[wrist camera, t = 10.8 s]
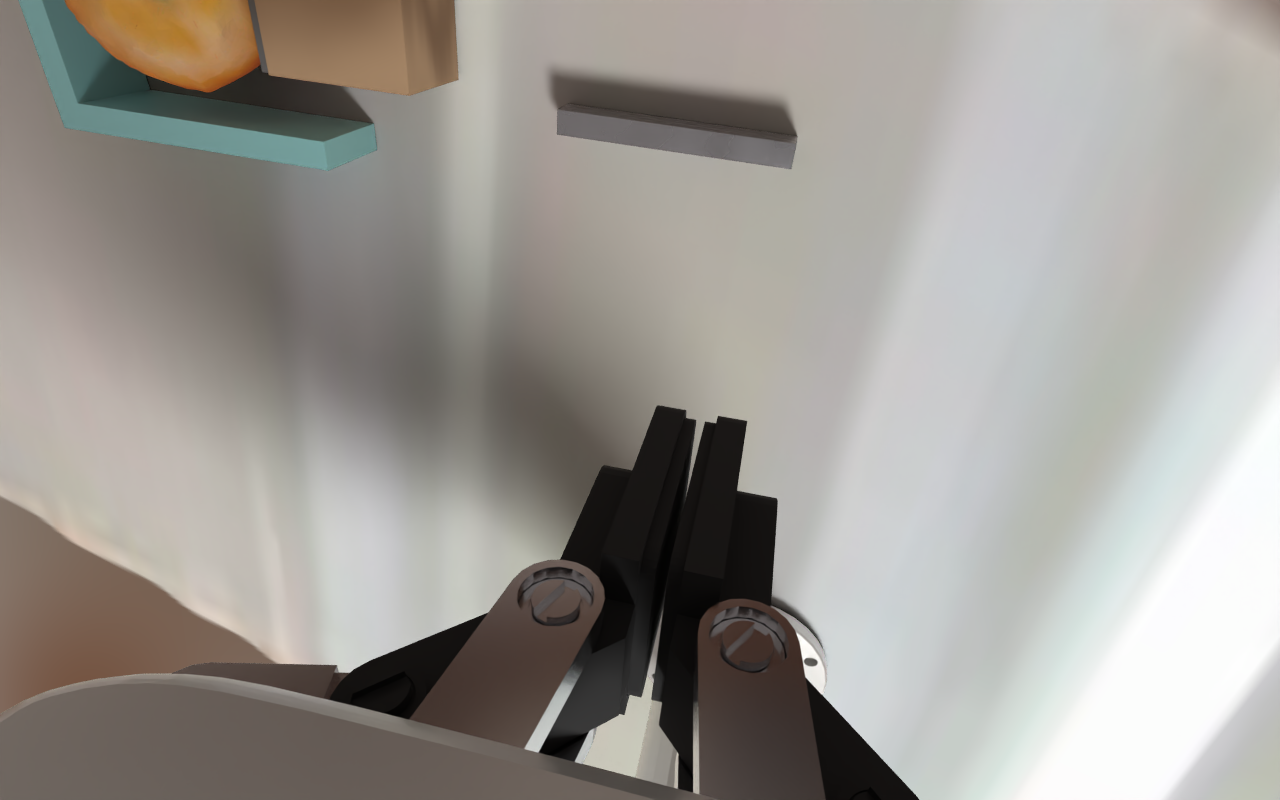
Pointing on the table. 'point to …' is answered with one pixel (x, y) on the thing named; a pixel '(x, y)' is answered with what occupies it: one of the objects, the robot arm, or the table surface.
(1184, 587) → the table surface
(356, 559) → the table surface
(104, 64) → the teal u-shaped frame
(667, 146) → the launcher track
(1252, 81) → the table surface
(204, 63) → the fruit
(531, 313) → the table surface
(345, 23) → the block
